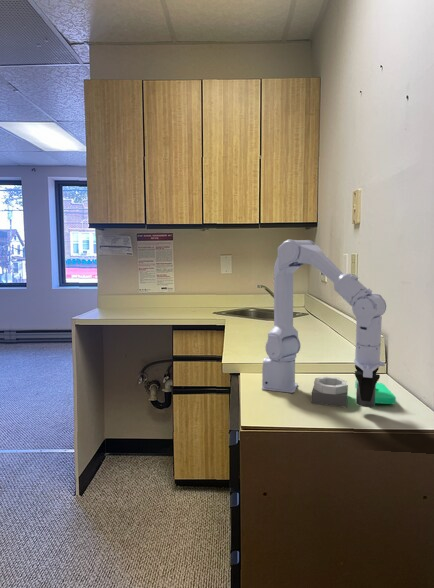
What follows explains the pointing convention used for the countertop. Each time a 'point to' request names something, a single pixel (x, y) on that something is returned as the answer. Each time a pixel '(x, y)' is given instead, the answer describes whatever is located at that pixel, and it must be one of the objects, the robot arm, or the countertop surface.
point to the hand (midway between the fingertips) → (365, 397)
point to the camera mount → (382, 394)
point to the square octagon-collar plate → (330, 391)
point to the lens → (365, 403)
